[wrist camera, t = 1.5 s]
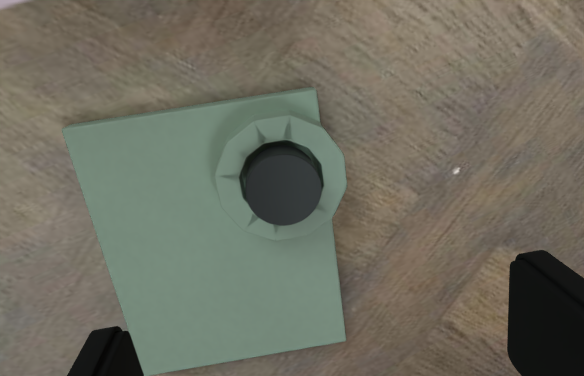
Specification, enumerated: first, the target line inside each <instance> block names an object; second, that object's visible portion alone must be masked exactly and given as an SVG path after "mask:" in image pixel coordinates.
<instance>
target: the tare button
mask: <svg viewBox="0 0 584 376" xmlns="http://www.w3.org/2000/svg"><path fill="white" fill-rule="evenodd" d="M321 192H322V185H321V180H320V177H319V174H318V172H317V170H316V168H315V166H314V164H313V162H312V160H311V159H310V158H309V157H308V155H307V154H305V153H304V152H303V151H301V150H300V149H298V148H295V147H292V146H287V145H276V146H272V147H269V148H267V149H265V150H263V151H261V152H260V153H259V154H257V155H256V156H255V157H254V159H253V160H252V161H251V163H250V165H249V167H248V170H247V174H246V188H245V193H246V199H247V202H248V205H249V207H250V208H251V210H252V211H253V212H254V214H255V215H256V216H257V217H259V218H260V219H261V220H263V221H265V222H267V223H270V224H273V225H279V226H286V225H292V224H296V223H298V222H300V221H302V220H304V219H306V218H307V217H308V216H309V215H311V213H312V212H313V211H314V210H315V209H316V207H317V205H318V203H319V201H320V198H321Z"/></svg>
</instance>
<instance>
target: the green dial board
mask: <svg viewBox="0 0 584 376" xmlns="http://www.w3.org/2000/svg"><path fill="white" fill-rule="evenodd" d="M62 133H63V136H64V139H65V142H66V145H67V148H68V151H69V154H70V157H71V160H72V163H73V166H74V169H75V172H76V175H77V178H78V181H79V184H80V187H81V190H82V193H83V196H84V199H85V202H86V205H87V207H88V210H89V213H90V216H91V219H92V222H93V225H94V228H95V231H96V234H97V237H98V240H99V243H100V246H101V249H102V252H103V255H104V258H105V261H106V264H107V267H108V270H109V273H110V276H111V279H112V282H113V285H114V288H115V291H116V294H117V297H118V300H119V303H120V306H121V309H122V312H123V315H124V318H125V321H126V324H127V327H128V330H129V333H130V335H131V338H132V341H133V344H134V347H135V350H136V353H137V356H138V359H139V362H140V365H141V368H142V371H143V374H144V376H150V375H155V374H161V373H167V372H172V371H178V370H184V369H190V368H195V367H201V366H207V365H213V364H218V363H224V362H230V361H235V360H241V359H247V358H253V357H258V356H264V355H270V354H275V353H281V352H287V351H293V350H298V349H304V348H310V347H316V346H321V345H327V344H333V343H338V342H344V341H346V332H345V324H344V316H343V307H342V299H341V290H340V282H339V274H338V265H337V257H336V248H335V240H334V232H333V223H332V217H333V216H334V214H335V212H336V210H337V208H338V206H339V204H340V201H341V199H342V197H343V195H344V193H345V191H346V188H347V178H346V169H345V159H344V154H343V152H342V151H341V150H340V148H339V147H338V146H337V145H336V143H335V142H334V141H333V139H332V138H331V137H330V135H329V134H328V133H327V132H326V130H325V129H324V128H323V126H322V125H321V123H320V114H319V106H318V97H317V90H316V89H315V88H314V87H308V88H302V89H295V90H289V91H282V92H276V93H270V94H263V95H257V96H250V97H244V98H237V99H231V100H224V101H218V102H212V103H205V104H199V105H192V106H186V107H179V108H173V109H167V110H160V111H154V112H147V113H141V114H134V115H128V116H122V117H115V118H109V119H102V120H96V121H89V122H83V123H77V124H71V125H69V126H67V127H65V128H63V129H62ZM276 145H287V146H292V147H295V148H298V149H300V150H301V151H303V152H304V153H305V154H307V155H308V157H309V158H310V159H311V160H312V162H313V164H314V166H315V168H316V170H317V172H318V174H319V177H320V180H321V185H322V192H321V198H320V201H319V203H318V205H317V207H316V209H315V210H314V211H313V212H312V213H311V215H309V216H308V217H307V218H306V219H304V220H302V221H300V222H298V223H296V224H292V225H286V226H279V225H273V224H270V223H267V222H265V221H263V220H261V219H260V218H259V217H257V216H256V215H255V214H254V212H253V211H252V210H251V208H250V207H249V205H248V202H247V199H246V193H245V188H246V174H247V170H248V167H249V165H250V163H251V161H252V160H253V159H254V157H255V156H256V155H257V154H259V153H260V152H261V151H263V150H265V149H267V148H269V147H272V146H276Z"/></svg>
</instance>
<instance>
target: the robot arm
mask: <svg viewBox="0 0 584 376" xmlns="http://www.w3.org/2000/svg"><path fill="white" fill-rule="evenodd" d="M507 350H508V355H509V358H510V360H511V362H512V364H513V365H514V367H515V368H516V369H517V371H518V372H519V373H520V374H521V376H584V278H583V277H581V276H580V275H578V274H577V273H576V272H574V271H573V270H571V269H570V268H569V267H567V266H566V265H565V264H563V263H562V262H560V261H559V260H558V259H556V258H555V257H554V256H552V255H551V254H549V253H548V252H546V251H544V250H539V251H533V252H527V253H522V254H519V255H517V257H516V259H515V261H513V262H511V264H510V278H509V311H508V344H507ZM67 376H144V374H143V371H142V368H141V365H140V362H139V359H138V356H137V353H136V350H135V347H134V344H133V341H132V338H131V335H130V333H129V332H128V331H122V329H121V328H120V327H118V326H115V327H109V328H104V329H98V330H94V331H92V332H91V333H90V335H89V337H88V338H87V340H86V342H85V344H84V346H83V348H82V349H81V351H80V353H79V355H78V357H77V359H76V360H75V362H74V364H73V366H72V368H71V370H70V371H69V373H68V375H67Z"/></svg>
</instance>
